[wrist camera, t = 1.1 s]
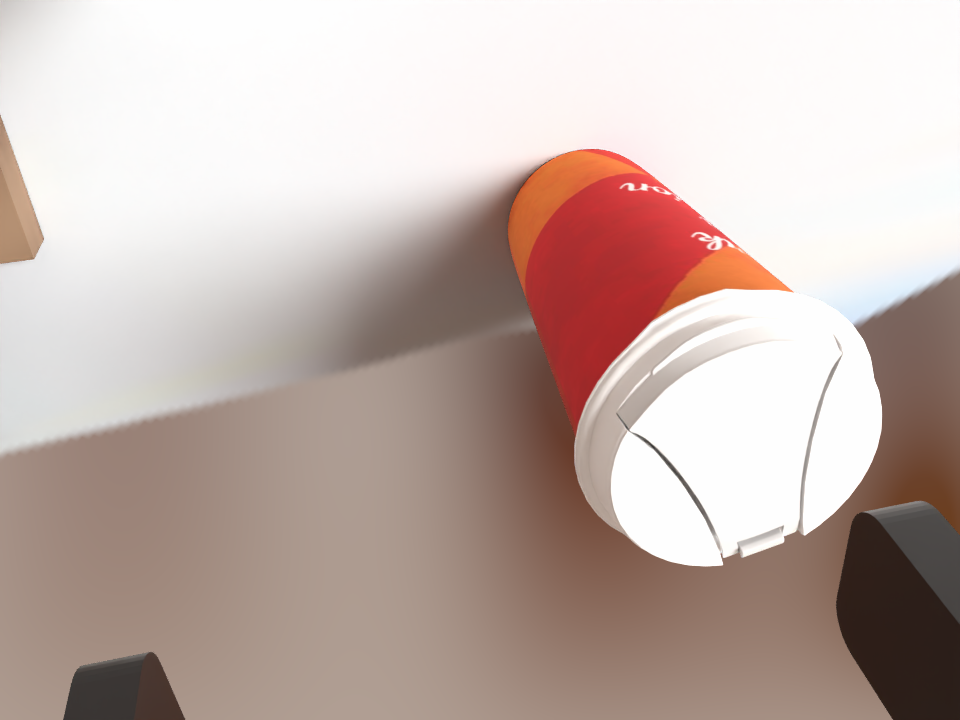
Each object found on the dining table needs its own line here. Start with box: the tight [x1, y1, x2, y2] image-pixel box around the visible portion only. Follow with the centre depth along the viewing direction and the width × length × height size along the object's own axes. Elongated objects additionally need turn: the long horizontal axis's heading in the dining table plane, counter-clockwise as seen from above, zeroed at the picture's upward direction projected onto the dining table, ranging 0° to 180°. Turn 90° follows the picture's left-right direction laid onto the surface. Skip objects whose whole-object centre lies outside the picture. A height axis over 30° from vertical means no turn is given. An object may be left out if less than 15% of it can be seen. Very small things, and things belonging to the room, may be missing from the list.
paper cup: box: [508, 149, 882, 566], centre depth 27 cm, size 8×8×14 cm
